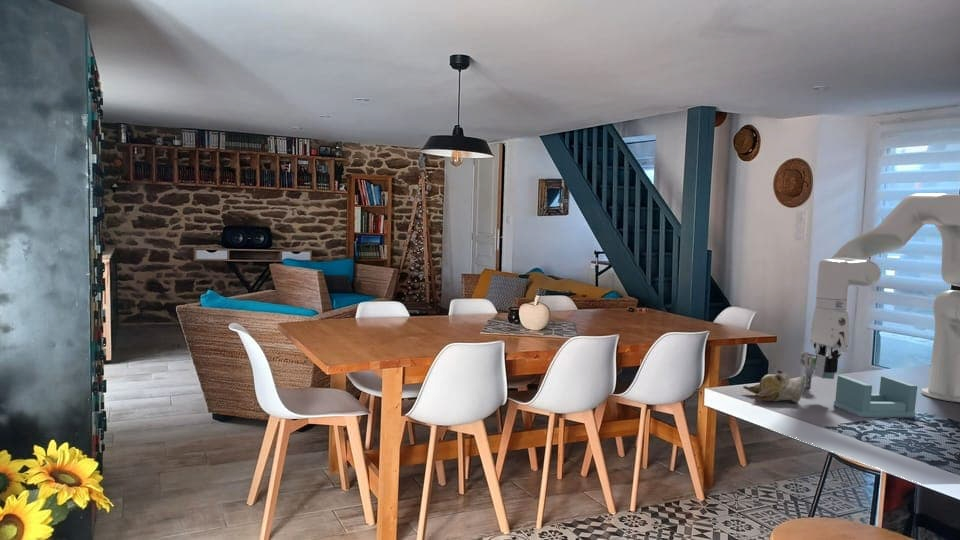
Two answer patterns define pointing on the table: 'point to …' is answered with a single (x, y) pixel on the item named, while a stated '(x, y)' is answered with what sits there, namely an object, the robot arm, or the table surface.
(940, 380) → the robot arm
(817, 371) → the brushed grey metal block
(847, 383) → the teal open frame
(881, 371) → the table surface
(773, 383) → the ceramic sculpture
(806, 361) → the mechanical component
